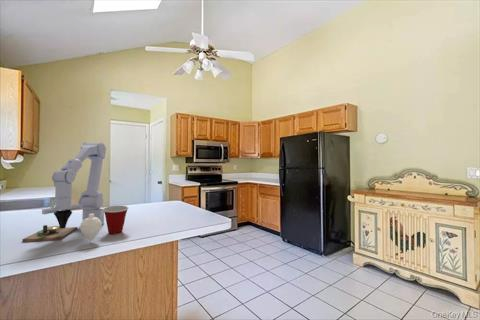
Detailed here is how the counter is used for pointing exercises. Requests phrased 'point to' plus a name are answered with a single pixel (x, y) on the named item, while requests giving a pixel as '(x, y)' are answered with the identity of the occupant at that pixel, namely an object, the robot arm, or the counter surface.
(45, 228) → the dial
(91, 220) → the cream vase
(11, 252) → the counter surface
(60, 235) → the dial board
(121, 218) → the plastic cup
